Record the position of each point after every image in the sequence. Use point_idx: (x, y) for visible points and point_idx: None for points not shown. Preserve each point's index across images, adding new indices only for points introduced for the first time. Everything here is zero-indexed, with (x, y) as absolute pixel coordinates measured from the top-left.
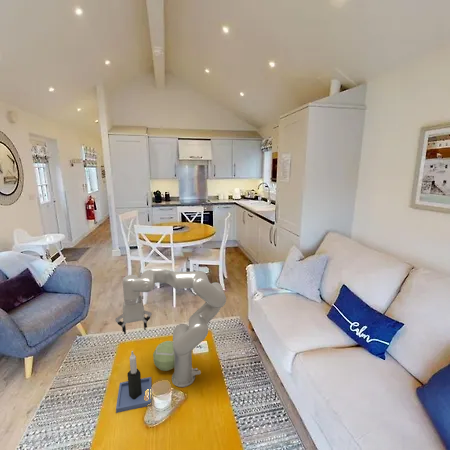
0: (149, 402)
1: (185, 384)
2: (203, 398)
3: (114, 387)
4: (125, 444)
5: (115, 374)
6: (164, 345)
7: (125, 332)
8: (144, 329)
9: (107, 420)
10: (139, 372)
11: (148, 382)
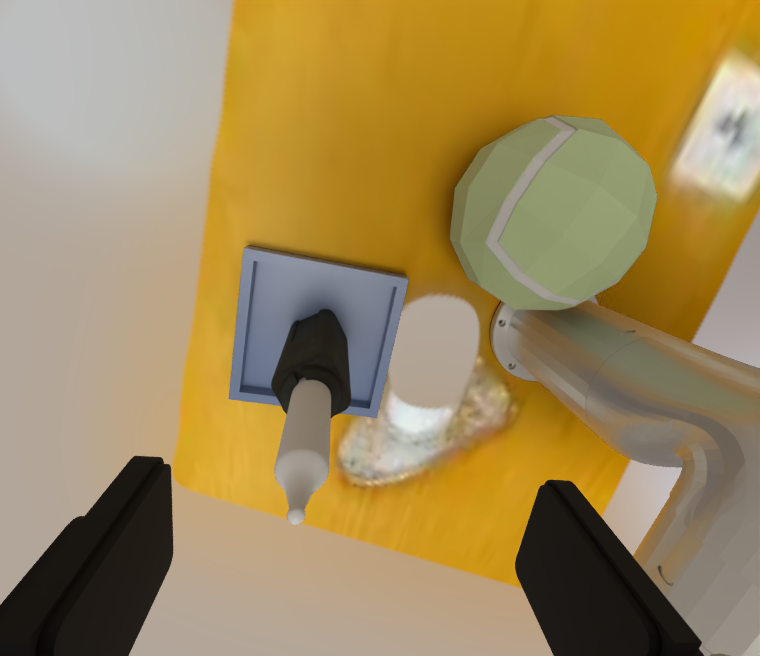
0: (369, 415)
1: (534, 378)
2: (560, 449)
3: (219, 239)
4: (268, 511)
5: (219, 133)
6: (578, 236)
7: (156, 590)
8: (525, 584)
9: (200, 408)
10: (345, 404)
11: (388, 290)
